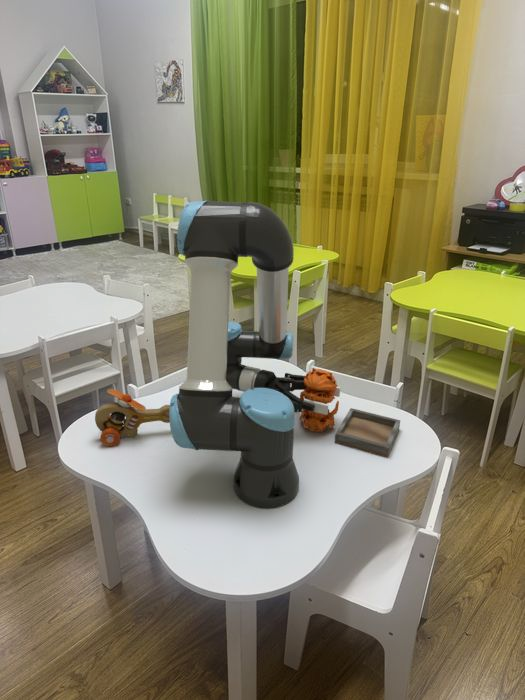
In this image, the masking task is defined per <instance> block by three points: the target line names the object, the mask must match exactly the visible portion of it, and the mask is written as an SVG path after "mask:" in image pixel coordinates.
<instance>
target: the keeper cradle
mask: <svg viewBox="0 0 525 700" xmlns="http://www.w3.org/2000/svg"><path fill="white" fill-rule="evenodd" d="M400 426H401V419H397V418H393V417H388V416H384V415H380V414H377V413H371V412H369V411H368V412H367V411H365V410H360V409H356V408H352V407H350V409H349V410H348V411H347V413H346V415H345V417H344V418H343V420H342V422H341V423H340V425H339V426H338V429H336V432H335V435H334V444H337V445H341V446H345V447H348V448H352V449H355V450H358V451H362V452H366V453H370V454H373V455H376V456H380V457H383V458H387V459H388V458H389V456H390V453H391V451H392V448H393V445H394V443H395V441H396V438H397V436H398V433H399V430H400Z"/></svg>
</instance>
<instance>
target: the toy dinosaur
mask: <svg viewBox="0 0 525 700" xmlns="http://www.w3.org/2000/svg"><path fill="white" fill-rule="evenodd" d="M305 376H306V377H305V378H304V384H305V385H306V386H307V388H306V389H305V390H301V391H300V394H299V398H300V399H301V400H303V402H304V399H308V400H312V401H316V402H320V403H324V404H329V403H332V402H333V401H334V400H335V399H336V396H334V395H335V390H336V387H339V386H338V384H337V383H338V381H337V379H335V376H333V373H332V372H330V371H327V370H324V369H322V368H321V369H320V368H319V369H316V368H314V367H312V370H310V371H308V372H307V373H306V374H305ZM339 404H340V401H339V400H337V401H336V403H335V407H334V409H333V410H331V411H330V409H329V408H328V414H327V415H325V414H321V413H317V412H314V411H309V410H305V409H302V412H301V414H300V416H299V421H302V425H303V429H306V428H307V429H308V430H309V431H311V432H317V433H318V432H323V431H325V430H326V429H327V428H328V426H329V427H330V428H331V429H332V430H333V429H334V426H335V415H337V413H338V411H339V406H340V405H339Z"/></svg>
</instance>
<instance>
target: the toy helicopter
mask: <svg viewBox="0 0 525 700" xmlns="http://www.w3.org/2000/svg"><path fill="white" fill-rule="evenodd" d="M106 392H107V393H108V395H110V396H112V397H115V398H117V399H118V400H117V402H115V401H114V402H109V403H105V404H103V405H101V406H99V408H98V409H97V410H96V411H95V414H94V415H95V416H94V421H95V425H96V427H97V428H98V430H99V431H100V432H101V434H100V442H101V443H102V445H104V446H105V447H110V448H111V447H115V446H116V445H117V444H119V443H120V441H121V437H124V436H125V437H126V436H129V437H131V438H135V437H136V436H138V431H139V429H138V428H140V425H142V424H145V423H152V422H163V423H166V424H170V419H169V409H170V404H164V405H162V406H161V407H158V408H148V409H147V408H146V406H145V405H143V404H141V403H140V402H138V401H137V400H134V399H133V398H132V396H131V395H130V394H129V393H128V394H126V393H123V392H120V391H118V390H116V389H113V388H108V389H107V390H106Z"/></svg>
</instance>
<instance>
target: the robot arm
mask: <svg viewBox="0 0 525 700" xmlns="http://www.w3.org/2000/svg"><path fill="white" fill-rule="evenodd" d="M177 226H178V227H177V234H176V238H177V251H178V252H179V254H180V255H182V256H183V257H184V263H185V264H186V266H188V268H189V269H190V271H191V272H190V273H191V276H190V294H189V296H190V297H189V321H188V340H187V341H188V344H187V365H186V379H185V381H183V383H182V384H180V386H179V387H178V393H176V394H174V395H172V397H171V398H170V402H169V405H170V409H169V419H170V423H169V427H170V434H171V436H172V439H173V441H174V443H175V445H177V446H178V447H179V448H182V449H188V450H189V449H190V450H194V451H199V450H202V451H203V450H206V451H207V450H208V451H221V452H222V451H225V452H240V458H239V461H238V464H237V466H236V467H235V468H236V469H235V471H234V473H233V477H232V478H233V491H234V493H235V495H236V496H237V497H238V499H240V500H241V501H242V502H244V503H245V504H247V505H249V506H252V507H256V508H261V509H262V508H263V509H264V508H265V509H271V508H278V507H282V506H284V505H286V504H288V503H290V502H291V501H292V500H293V499H294V498H295V497H296V496H297V494H298V492H299V488H300V487H299V486H300V475H299V473H298V470H297V467H296V464H295V463H296V462H295V460H294V458H293V455H294V433H295V431H294V429H295V427H296V418H295V413H302V411H303V409H305V410H309V411H314V412H317V413H321V414H325V415H327V414H328V409H329V403H327V404H324V403H320V402H316V401H312V400H308V399H305V398H304V402H303V400H301V399H300V397H298V396H297V395H295V394H293V393H292V392H294V391H304V390H305V389H306V388H307V386H306V385H305V384H304V378H305V377H306V375H302V374H300V375H299V374H292V373H290V372H289V373H288V372H285V373H284V377H283V376H282V377H279V376H276V374H275V372H274V371H271V370H266V369H261V368H257V367H253V366H249V365H246V364H242V362H243V361H242V360H243V359H242V358H246V359H248V358H251V359H253V358H254V359H255V358H256V359H270V360H282V359H283V360H289V359H292V357H293V351H294V347H293V346H294V335H293V333H292V332H287V330H288V304H289V303H288V298H289V269H290V267H291V266H292V265H293V263H294V254H295V253H294V252H295V251H294V250H295V248H294V243H293V240H292V239H293V238H292V236H291V234H290V231H289V229H288V228H287V226H286V224H285V223H284V221H283V220H282V219H281V217H280V216H279V215H278V214H277V213H276V212H275V211H274V210H273V209H271V208H270V207H268V206H267V205H264V204H262V203H259V202H255V201H247V202H241V201H222V200H221V201H217V200H203V201H202V200H201V201H190V202H188V203H187V204H186V205H185V206H184V208H183V209H182V211H181V214H180V216H179V221H178V225H177ZM249 257H250V258H251V262H252V264H253V266H254V267H255V268H256V282H257V283H256V285H257V286H256V288H257V311H258V312H257V314H258V331H257V330H256V331H252V330H251V331H250V330H243V329H242V325H241V324H240V322H234V321H229V316H230V297H231V295H230V292H231V275H232V274H231V273H233V272H232V271H234V270H235V269H236V268H237V267H238V266H239V258H249ZM233 390H235V391H236V390H237V391H239V392H242V394H241V396H240V397H239V396H238V397H235V396H233ZM340 396H341V387H340V386H337V387H336V390H335V395H334V397H338V398H339V397H340Z"/></svg>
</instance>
